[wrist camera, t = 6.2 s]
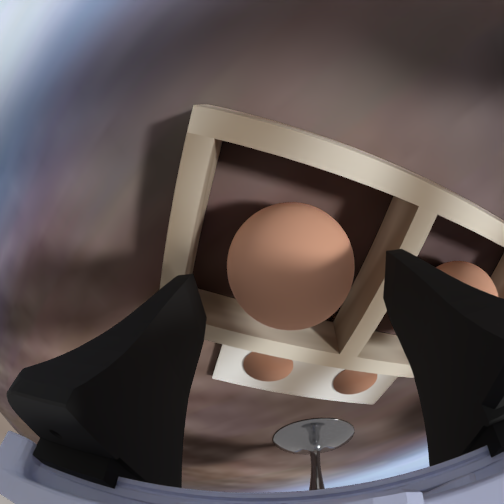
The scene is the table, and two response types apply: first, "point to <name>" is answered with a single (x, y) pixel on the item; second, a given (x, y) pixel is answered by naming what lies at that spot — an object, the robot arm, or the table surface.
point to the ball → (469, 275)
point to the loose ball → (290, 266)
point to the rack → (363, 289)
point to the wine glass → (314, 441)
